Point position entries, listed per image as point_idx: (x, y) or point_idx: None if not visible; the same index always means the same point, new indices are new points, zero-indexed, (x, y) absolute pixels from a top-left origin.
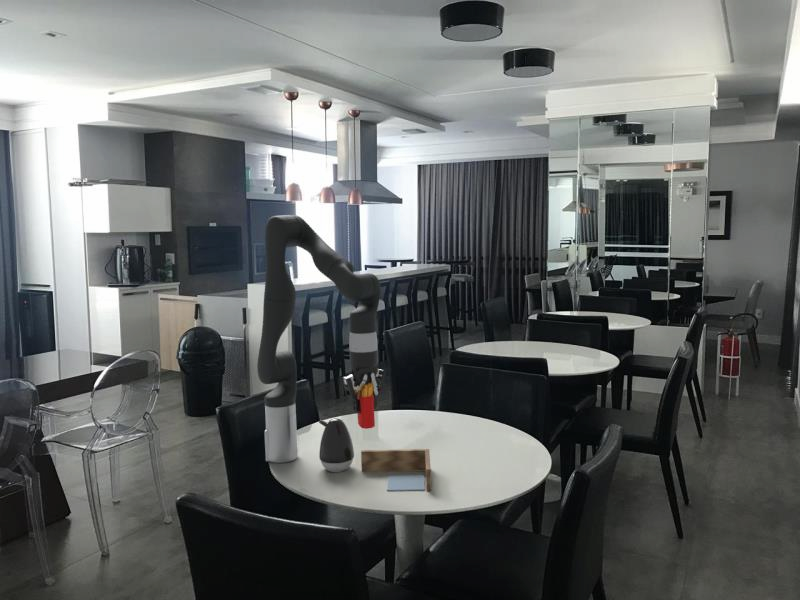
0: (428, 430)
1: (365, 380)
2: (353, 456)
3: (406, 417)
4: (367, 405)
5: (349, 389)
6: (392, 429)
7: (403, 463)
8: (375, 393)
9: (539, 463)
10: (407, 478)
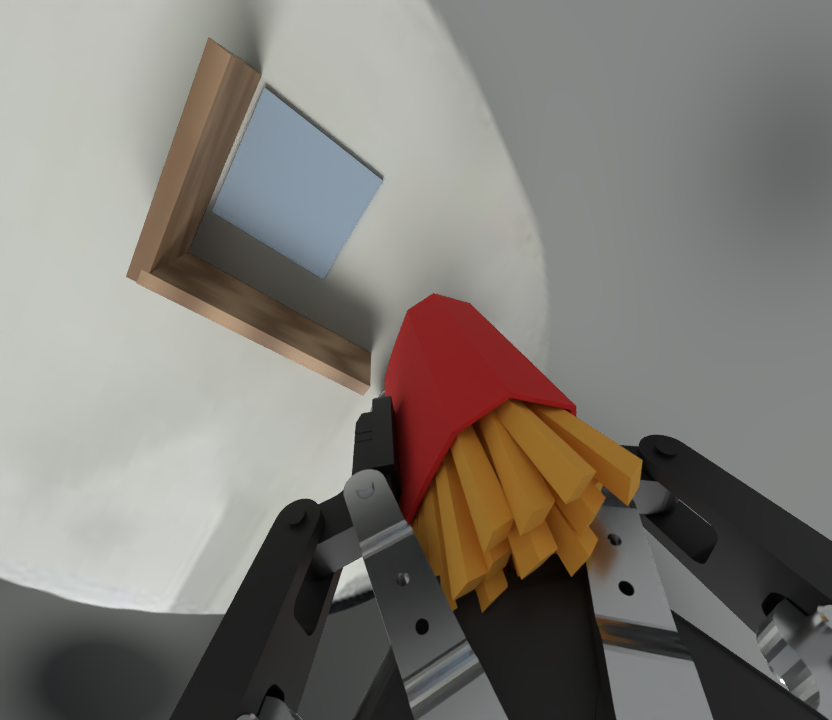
0: (69, 495)
1: (621, 637)
2: (382, 396)
3: (107, 573)
4: (513, 360)
5: (785, 521)
6: (172, 531)
7: (252, 300)
8: (378, 482)
9: None
10: (278, 223)
